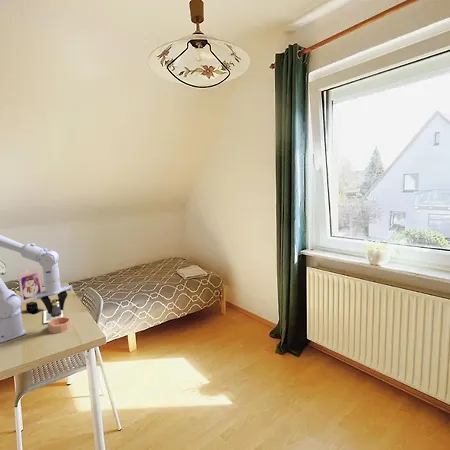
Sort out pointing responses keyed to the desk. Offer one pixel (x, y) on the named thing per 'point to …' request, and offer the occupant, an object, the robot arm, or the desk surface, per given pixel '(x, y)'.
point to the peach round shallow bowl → (59, 325)
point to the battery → (55, 307)
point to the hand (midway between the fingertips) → (55, 311)
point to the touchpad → (48, 316)
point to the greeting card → (29, 284)
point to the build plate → (32, 308)
